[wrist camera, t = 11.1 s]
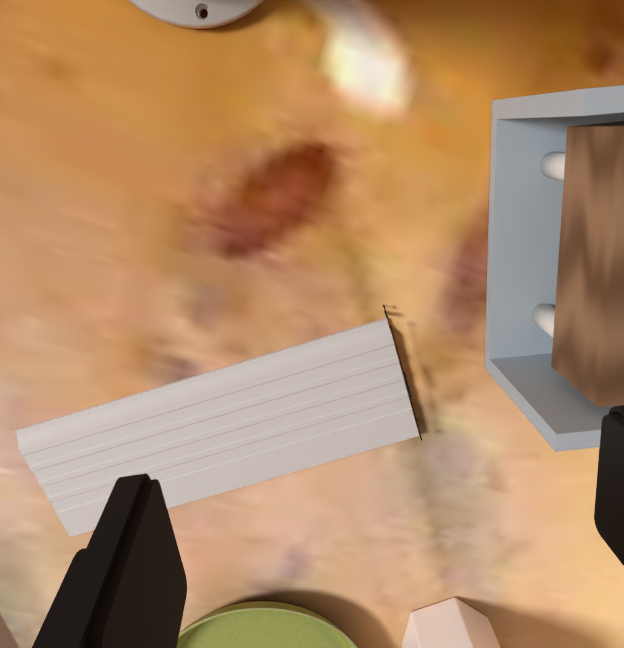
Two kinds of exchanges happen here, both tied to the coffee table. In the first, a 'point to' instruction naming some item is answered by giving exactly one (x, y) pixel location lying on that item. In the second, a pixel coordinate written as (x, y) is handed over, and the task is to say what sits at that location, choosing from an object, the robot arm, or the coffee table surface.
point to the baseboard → (227, 425)
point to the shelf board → (592, 265)
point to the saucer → (263, 628)
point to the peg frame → (535, 257)
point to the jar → (449, 627)
